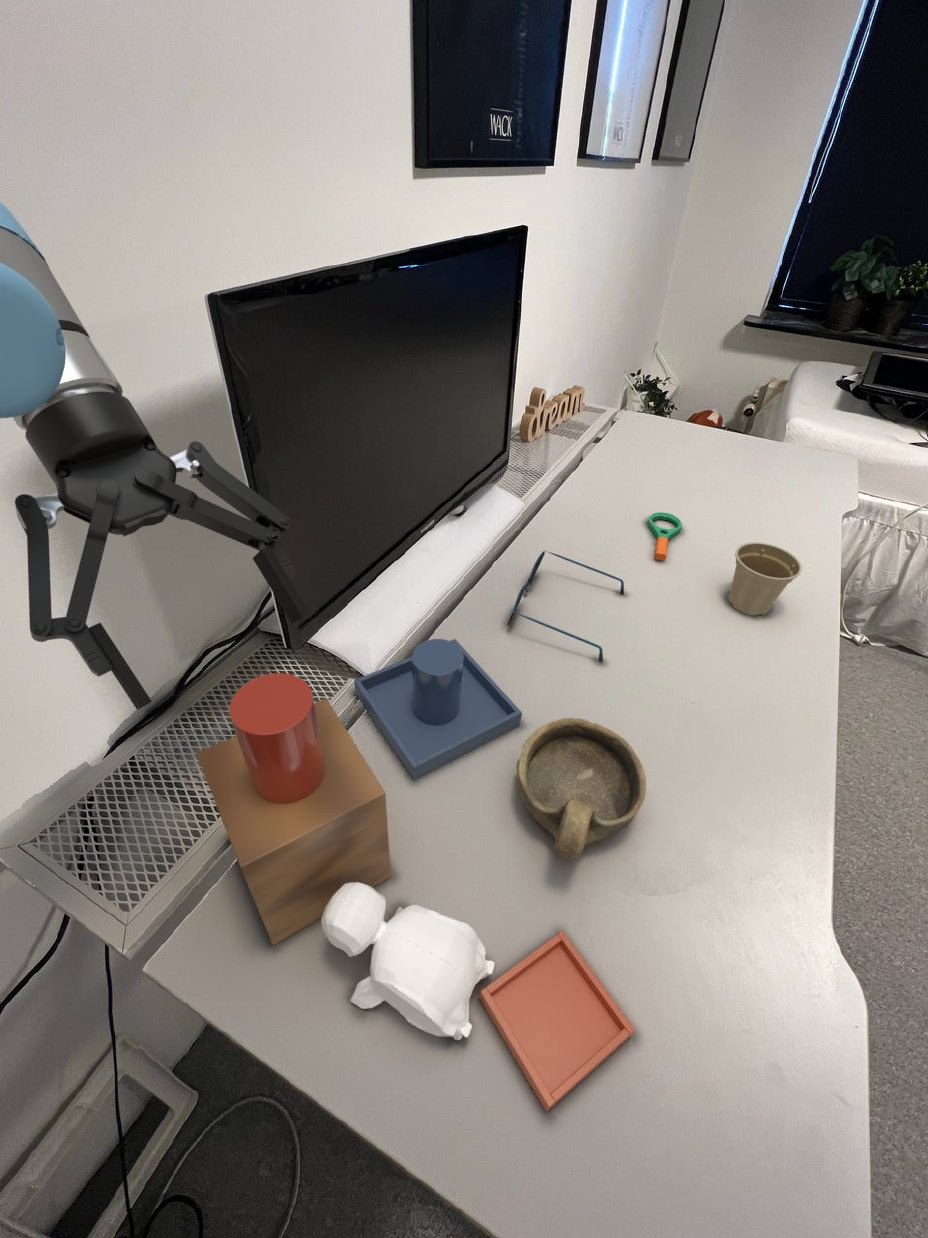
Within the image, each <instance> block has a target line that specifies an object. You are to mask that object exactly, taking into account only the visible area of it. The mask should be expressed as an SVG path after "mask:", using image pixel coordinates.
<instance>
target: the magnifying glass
mask: <svg viewBox="0 0 928 1238" xmlns="http://www.w3.org/2000/svg"><path fill="white" fill-rule="evenodd" d="M656 520H664V521H668V522H670V523H673V524H674V525H675V526H676V527H675V528H664V527H661V526H659V525H657V524H655V523H654V522H653V521H656ZM682 524H683V523H682V521H681V519H680V518H679V517H678V516H676V515H674V514H672V513H668V512H661V511H659V512H654V513H652V514H650V516H649V517H648V520H647V528H648V529H649V530H650V532H651V533H652V535H653V536H654V537H655V539H656V545H655V551H654V558H655V559H656V560H658V561H665V560H666V559H667V556H668V555H667V554H668V546H669V541H670V540H671V539H673V538H674V537H675V536H677V535H678V534H680V532H681V530H682V526H683V525H682Z"/></svg>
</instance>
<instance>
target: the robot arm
mask: <svg viewBox="0 0 928 1238" xmlns="http://www.w3.org/2000/svg"><path fill="white" fill-rule="evenodd" d="M123 391H124V390H123V387H122V386H121V384H120V382H119V380H118V379H117V377H116V376H115V375H114V373H113V370H112V369H111V368H110V366H109V365H108V363H107V362H106V360H105V359H104V357H103V355H102V354H101V352H100V351H99V349H98V347H97V346H96V344H95V343H94V341H93V340H92V338H91V337H90V334H89V333H88V332H87V330H86V328H85V326H84V325H83V323H82V321H81V320H80V318H79V316H78V314H77V312H76V311H75V310H74V308H73V306H72V304H71V302H70V301H69V299H68V298H67V296H66V294H65V292H64V290H63V289H62V288H61V285H60V284H59V283H58V281H57V279H56V277H55V275H54V274H53V273H52V270H51V268H50V266H49V264H48V263H47V259H46V257H45V256H44V255H43V254H42V252H41V250H40V249H39V248H38V246H37V245H36V244H35V243H34V242H33V240H32V239H31V237H30V236H29V235H28V233H27V232H26V231H25V229H24V227H23V226H22V225H21V224H20V222H19V221H18V220H17V218H16V217H15V215H14V214H13V213H12V212H11V211H10V210H9V209H8V207H7V206H6V205H5V204H4V203H2V202H1V201H0V419H9V418H12V419H13V421H14V422H15V424H16V425H17V426H18V427H19V428H20V429H21V430H24V431H25V434H24V436H25V440H26V441H27V443H28V444H29V446H30V447H31V449H32V450H33V453H35V455H36V457H37V458H38V460H39V461H40V463H41V464H42V466H43V468H44V469H45V471H46V473H47V474H48V475H49V477H50V479H51V480H52V482H53V483H54V485H55V487H56V491H57V492H56V493H52V494H47V495H41V496H38V497H34V496H32V495H31V494H28V493H22V494H19V495H17V496H16V497H15V500H14V506H15V511H16V517H17V519H18V521H19V523H20V525H21V528H22V529H23V532H24V534H25V536H26V546H27V547H26V548H27V550H26V551H27V581H28V584H27V585H28V612H29V613H28V614H29V631H30V636H31V638H32V639H33V640H34V641H36V642H38V643H43V642H47V641H52V640H58V639H59V640H60V639H61V640H62V639H64V640H67V641H68V642H70V643H71V644H72V645H73V646H74V648H75V649H76V651H77V652H78V654H79V655H80V657H81V659H82V660H83V661H84V663H85V664H86V666H87V667H88V669H89V671H90V672H91V673H92V674H93V675H95V676H96V677H98V678H99V677H102V676H103V675H106V674H107V673H109V672H111V673H112V674H113V675H114V677H115V678H116V681H117V682H118V683H119V684H120V686H121V688H122V690H123V691H124V692H125V694H126V695H127V697H128V699H129V700H130V702H131V703H132V704H133V706H134V708H135V709H136V711H139V710H140V709H142V708H144V707H146V706H147V705H149V704H151V703H152V702H153V701H152V699H151V697H150V696H149V694H148V693H147V692H146V690H145V688H144V687H143V685H142V684H141V682H140V681H139V679H138V678H137V676H136V675H135V673H134V672H133V670H132V669H131V667H130V666H129V664H128V662H127V661H126V659H125V658H124V656H123V655H122V653H121V651H120V650H119V648H118V647H117V646H116V644H115V642H114V641H113V639H112V638H111V636H110V635H109V633H108V631H107V630H106V629H105V627H104V626H103V624H102V623H101V622H98V623H95V624H94V625H91V626H88V624H87V620H88V615H89V612H90V608H91V604H92V600H93V595H94V592H95V588H96V584H97V579H98V577H99V572H100V568H101V564H102V559H103V555H104V552H105V548H106V544H107V540H108V536H109V534H112V535H116V536H121V535H122V536H123V537H127V536H129V535H132V534H135V532H137V531H139V530H140V529H141V528H143V527H150V526H155V525H158V524H160V523H163V522H164V520H165V519H166V518H167V517H168V516H171V517H173V518H176V519H178V520H183V521H189V522H191V523H194V524H196V525H198V526H201V527H203V528H205V529H208V530H210V531H212V532H214V533H216V534H218V535H219V534H220V535H222V536H224V537H225V538H229V539H231V540H233V541H235V542H238V543H240V544H243V545H245V546H247V547H250V548H252V549H255V550H256V551H258V552H257V553H256V554H255V555H254V556H253V557H252V560H253V562H254V563H255V565H256V567H257V568H258V570H259V571H260V573H261V575H262V577H263V579H264V580H265V582H266V583H267V585H268V586H269V588H270V590H271V592H272V593H273V595H274V596H275V599H277V601H278V603H279V604H280V606H281V608H282V610H283V611H284V613H285V614H286V615H287V618H288V619H289V621H290V623H291V625H293V624H295V623H296V622H299V621H300V620H302V619H304V618H305V617H307V616H309V615H310V614H311V612H310V611H309V609H308V607H307V606H306V603H304V601H303V599H302V597H301V596H300V595H299V593H298V590H297V589H296V588H295V586H294V584H293V583H292V581H291V580H292V579H294V578H295V577H297V573H296V569H295V567H294V566H293V564H292V562H291V561H290V559H289V557H288V555H287V554H286V552H285V551H284V548H283V547H282V545H281V542H280V540H281V537H282V536H283V535H284V534H285V532H286V531H287V530H288V529H289V528H290V527H291V526H292V520H291V518H290V517H289V516H288V515H287V514H286V513H284V512H283V511H282V510H280V509H279V508H277V507H276V506H275V505H273V504H272V503H271V502H269V501H268V500H267V499H266V498H264V497H263V496H261V495H260V494H258V493H257V491H255V490H253V489H252V488H250V486H248V485H247V484H245V483H244V482H243V481H241V480H240V479H238V478H237V477H236V476H234V475H233V474H232V473H231V472H229V471H228V470H227V469H225V468H224V467H223V466H221V465H220V464H218V463H217V462H216V460H215V459H214V458H213V456H212V455H211V454H210V452H209V451H208V450H207V448H206V447H205V446H204V444H203V443H201V442H200V441H198V440H197V441H196V440H194V441H191V442H189V445H188V446H187V448H186V449H185V450H183V451H180V452H178V453H176V454H174V455H171V456H168V455H166V454H165V453H164V452H162V450H160V449H159V448H158V446H157V444H156V442H155V440H154V439H153V437H152V435H151V434H150V432H149V430H148V429H147V427H146V425H145V423H144V422H143V420H142V418H141V417H140V415H139V413H138V412H137V410H136V409H135V408H134V406H133V404H132V403H131V401H130V400H129V398H128V397H126V396H124V395H123ZM177 473H182V474H184V475H186V476H187V477H188V478H190V479H196V480H197V481H198V482H199V483H200V484H201V485H202V486H203V487H205V488H206V489H207V490H208V491H210V492H211V493H213V494H214V495H216V496H217V497H218V498H220V499H221V500H222V501H224V502H225V503H226V504H228V505H229V506H231V507H232V508H234V510H236V511H237V512H239V513H241V515H239V514H238V513H236V512H233V511H231V510H228V509H227V508H225V507H222V506H220V505H218V504H216V503H213V502H212V501H208V500H206V499H205V498H202V497H200V496H198V495H197V493H196V492H194V491H192V490H191V489H189V488H186V487H184V486H182V485H180V484H177V483H176V482H177ZM63 511H64V512H65V513H66V514H68V515H71V516H72V517H74V518H76V519H79V520H81V521H83V522H85V523H87V524H89V525H88V529H87V532H86V533H87V534H86V537H85V541H84V545H83V548H82V552H81V557H80V561H79V564H78V569H77V572H76V575H75V580H74V583H73V587H72V592H71V594H70V600H69V603H68V607H67V611H66V614H65V616H62V617H52V616H53V615H52V590H51V588H52V587H51V563H50V562H51V561H50V559H51V557H50V534H49V530H51V529H53V528H54V527H55V526H56V525H57V522H58V521H57V519H58V518H57V515H58V513H60V512H63ZM242 515H243V516H242ZM244 516H245V517H244Z"/></svg>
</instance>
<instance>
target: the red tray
mask: <svg viewBox="0 0 928 1238" xmlns="http://www.w3.org/2000/svg"><path fill="white" fill-rule="evenodd" d="M478 998H479V1000H480V1002H481V1003H482V1005H483V1008H484V1009H485V1010H486V1012H487V1014H488V1015H489V1017H490V1019H491V1020H492V1023H493V1024H494V1025H495V1027H496V1030H497V1031H498V1032H499V1034H500V1036H501V1037H502V1039H503V1041H504V1043H505V1044H506V1046H507V1048H508V1050H509V1051H510V1053H511V1054H512V1056H513V1058H514V1059H515V1061H516V1063H517V1065H518V1067H519V1068H520V1070H521V1072H522V1074H523V1075H524V1077H525V1078H526V1080H527V1082H528V1083H529V1085H530V1087H531V1088H532V1091H533V1092H534V1093H535V1096H536V1097H537V1099H538V1101H539V1103H540V1104H541V1106H542V1107H543V1109H544V1111H545V1113H547V1112H548V1111H549V1110H550V1109H552V1107H554V1106H555V1105H556V1104H557V1103H558V1102H559V1101H561V1100H562V1099H563V1098H564V1097H565V1096H566V1095H567V1094H568V1093H570V1092H571V1090H573V1089H574V1088H575V1087H576V1086H577V1085H578V1084H579V1083H580V1082H582V1081H583V1079H586V1077H587V1076H588V1075H590V1073H591V1072H592V1071H593V1070H594V1069H596V1068H597V1067H598V1066H599V1065H600V1064H602V1063H603V1061H604V1060H605V1059H607V1058H608V1057H609V1056H610V1055H611V1054H613V1053H614V1052H615V1051H616V1050H617V1049H618V1048H619V1047H620V1046H621V1045H622V1044H623V1043H625V1042H626V1041H627V1040H628V1039H629V1038H631V1036H632V1035H633V1034H634V1033H635V1031H636V1029H635V1027H634V1026H633V1025H632V1023H631V1022H630V1021H629V1019H628V1017H627V1016H626V1015H625V1013H623V1011H622V1009H621V1008H620V1006H619V1005H618V1004H617V1003H616V1001H615V1000H614V999H613V997H612V996H611V995H610V993H609V992H608V990H607V989H606V987H604V985H603V984H602V982H601V980H599V978H598V977H597V974H595V973H594V971H593V969H592V968H591V967H590V966H589V964H588V963H587V961H586V960H585V959H584V958H583V956H582V955H581V953H580V952H579V951H578V949H577V948H576V947H575V945H574V944H573V942H572V941H571V940H570V938H569V937H568V936H567V934H566V933H565V931H564V930H561V931H560V932H558V933H557V934H555V935H554V936H553V937H552V938H550V939H549V940H547V941H546V942H545V943H543V944H542V945H541V946H539V947H538V948H536V950H534V951H532V953H530V954H529V955H527V956H526V957H524V958H523V959H522V960H520V961H519V962H518V963H516V964H515V965H513V967H511V968H510V969H508V970H507V971H505V972H504V973H503V974H502V975H500V976H498V978H497V979H495V980H494V981H492V982H491V983H490V984H488V985H486V987H484V988H482V989H481V990H480V993H479V996H478Z"/></svg>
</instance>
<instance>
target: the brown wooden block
mask: <svg viewBox="0 0 928 1238" xmlns="http://www.w3.org/2000/svg"><path fill="white" fill-rule="evenodd" d="M314 705H315V710H316V716H317V722H318V727H319V733H320V739H321V744H322V750H323V756H324V762H325V773H324V777H323V779H322V781H321V783H320V784H319V786H318V787H317V788H316V789H315V790H314V791H313V792H312V793H311V794H309V795H308V796H307V797H305V798H303V799H301V800H298V801H295V802H292V803H285V804H279V803H273V802H269V801H267V800H265V799H263V798H261V797H260V796H259V795H258V794H257V793H256V791H255V790H254V788H253V785H252V782H251V779H250V776H249V773H248V770H247V767H246V764H245V761H244V757H243V754H242V751H241V748H240V745H239V742H238V739H237V736H236V735H235V736H233V737H230V738H227V739H225V740H223V741H220V742H217V743H216V744H213V745H211V746H209V747H206V748H204V749H202V750H199V751H197V752H196V753H195V754H196V756H197V759H198V762H199V765H200V767H201V770H202V772H203V775H204V777H205V780H206V782H207V785H208V788H209V790H210V793H211V796H212V798H213V801H214V802H215V805H216V808H217V811H218V813H219V816H220V818H221V822H222V823H223V826H224V829H225V831H226V834H227V836H228V839H229V842H230V844H231V847H232V849H233V852H234V855H235V857H236V860H237V862H238V865H239V867H240V870H241V873H242V875H243V877H244V880H245V882H246V884H247V886H248V889H249V891H250V894H251V897H252V898H253V901H254V903H255V906H256V908H257V910H258V913H259V915H260V916H259V917H261V920H262V922H263V925H264V927H265V930H266V932H267V934H268V937H269V939H270V942H271V945H272V946H275V945H277V944H279V943H280V942H282V941H284V940H285V939H287V938H289V937H291V936H293V935H295V933H297V932H300V931H301V930H302V929H304V928H306V927H307V926H309V925H311V924H313V923H314V922H316V921H318V920H319V919H322V916H323V913H324V910H325V907H326V905H327V903H328V902H329V900H330V899H331V898H332V896H333V895H334V894H335V893H336V892H337V891H338V890H339V889H340V888H341V887H342V886H343V885H344V884H346V883H355V882H359V883H362V884H366V885H368V886H370V887H372V888H374V887H375V886H377V885H379V884H380V883H382V882H384V881H385V880H388V879H389V878H390V877H391V876H392V873H391V860H390V859H391V858H390V845H389V844H390V843H389V842H390V841H389V828H388V827H389V826H388V812H387V811H388V810H387V799H386V798H387V796H386V791H385V790H384V788H383V786H382V785H381V783H380V782H379V780H378V779H377V777H376V775H375V774H374V772H373V771H372V769H371V767H370V765H369V764H368V763H367V761H366V759H365V757H364V756H363V754H362V752H361V751H360V750H359V748H358V747H357V745H356V743H355V742H354V740H353V739H352V737H351V734H350V733H349V732H348V730H347V729H346V727H345V726H344V724H343V722H342V721H341V719H340V717H339V716H338V714H337V712H336V711H335V709H334V708H333V707H332V705H331V703H330V702H329V700H328V698H323V699H321V700H319V701H316V702H314Z"/></svg>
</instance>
